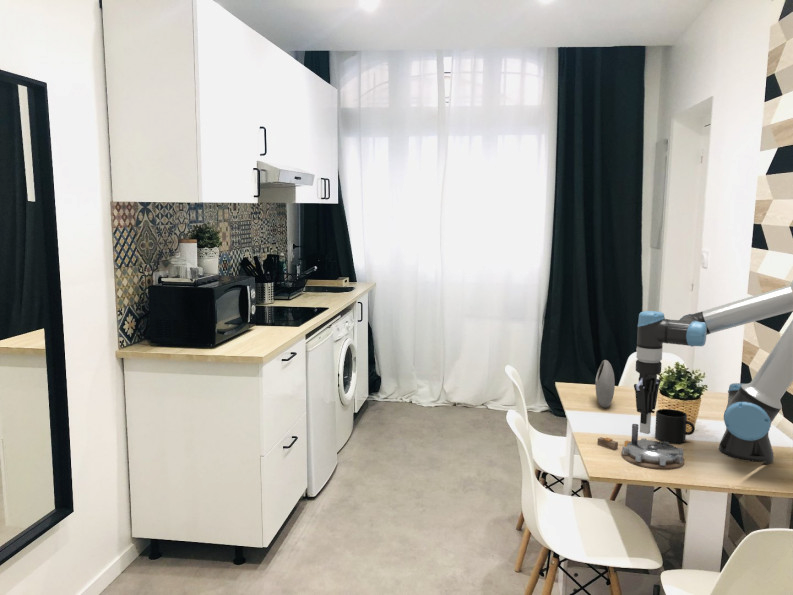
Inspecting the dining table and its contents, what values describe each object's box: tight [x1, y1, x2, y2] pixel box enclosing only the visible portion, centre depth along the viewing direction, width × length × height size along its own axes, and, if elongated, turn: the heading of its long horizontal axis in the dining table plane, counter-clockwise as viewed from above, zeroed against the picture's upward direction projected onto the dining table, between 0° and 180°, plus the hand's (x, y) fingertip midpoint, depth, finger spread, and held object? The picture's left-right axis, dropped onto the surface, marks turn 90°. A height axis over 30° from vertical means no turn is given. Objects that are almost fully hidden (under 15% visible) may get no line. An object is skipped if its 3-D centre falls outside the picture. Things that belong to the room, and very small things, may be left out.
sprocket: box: [621, 423, 684, 466], centre depth 193 cm, size 18×18×8 cm
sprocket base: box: [620, 451, 685, 471], centre depth 193 cm, size 18×18×1 cm
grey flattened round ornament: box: [595, 359, 616, 409], centre depth 246 cm, size 18×7×19 cm, turn 165°
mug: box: [654, 408, 696, 444], centre depth 210 cm, size 9×12×9 cm
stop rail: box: [597, 437, 619, 451], centre depth 202 cm, size 6×2×3 cm, turn 41°
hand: (644, 432), depth 200 cm, fingers closed
